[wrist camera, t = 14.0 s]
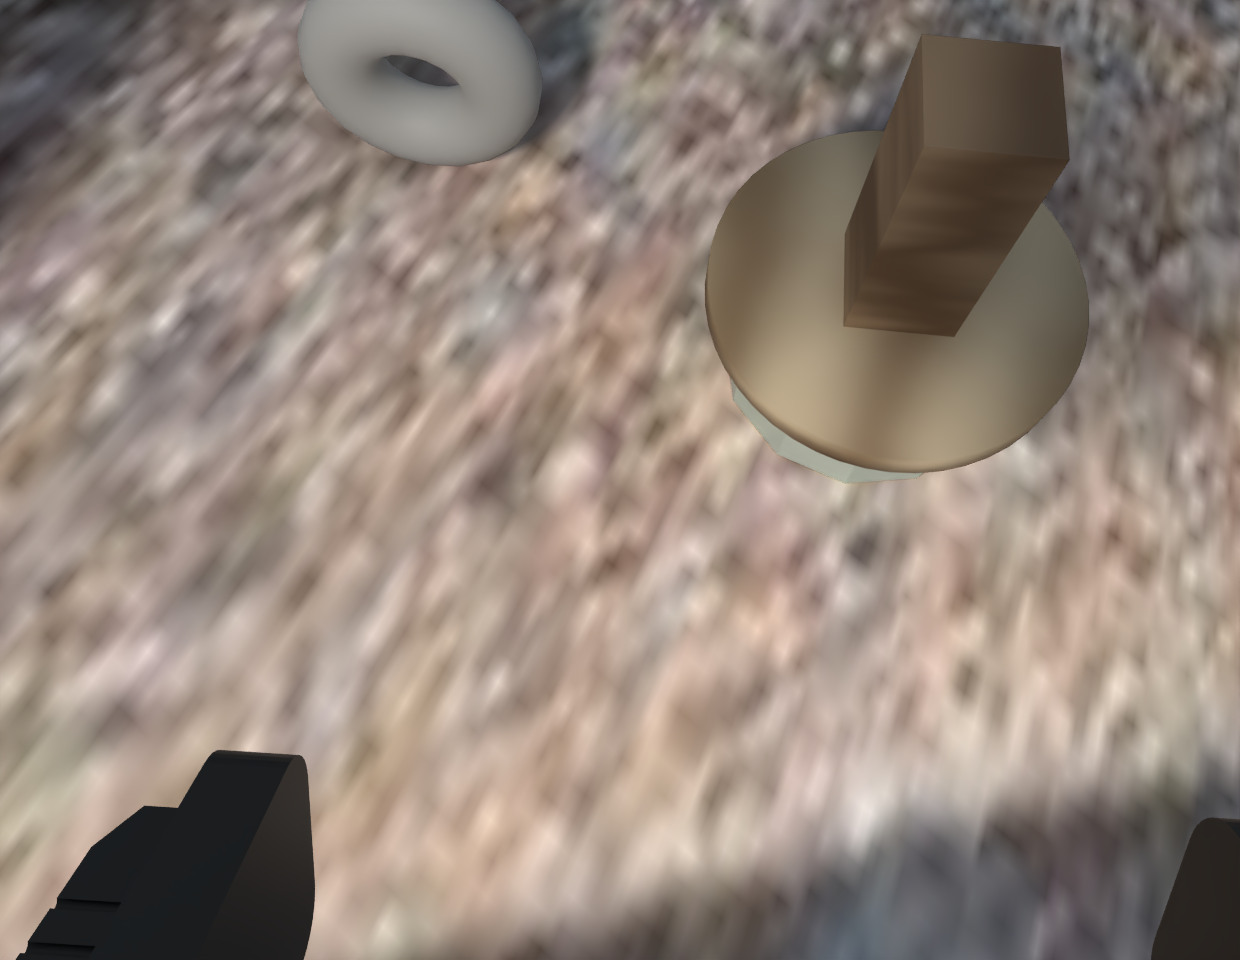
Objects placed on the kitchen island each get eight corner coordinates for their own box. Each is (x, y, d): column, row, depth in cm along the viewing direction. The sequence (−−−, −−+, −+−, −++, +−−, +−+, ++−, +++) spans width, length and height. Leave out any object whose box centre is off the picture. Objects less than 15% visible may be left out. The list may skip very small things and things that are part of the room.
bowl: (675, 329, 45) (685, 263, 40) (872, 208, 48) (904, 133, 43) (840, 531, 42) (871, 485, 37) (1042, 390, 44) (1095, 331, 40)
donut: (320, 166, 48) (255, -12, 38) (339, 106, 49) (281, -81, 40) (539, 199, 47) (528, 26, 38) (553, 137, 49) (545, -44, 39)
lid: (692, 453, 37) (733, 284, 27) (715, 135, 43) (756, -107, 32) (1088, 491, 37) (1277, 336, 27) (1062, 167, 43) (1213, -65, 32)
